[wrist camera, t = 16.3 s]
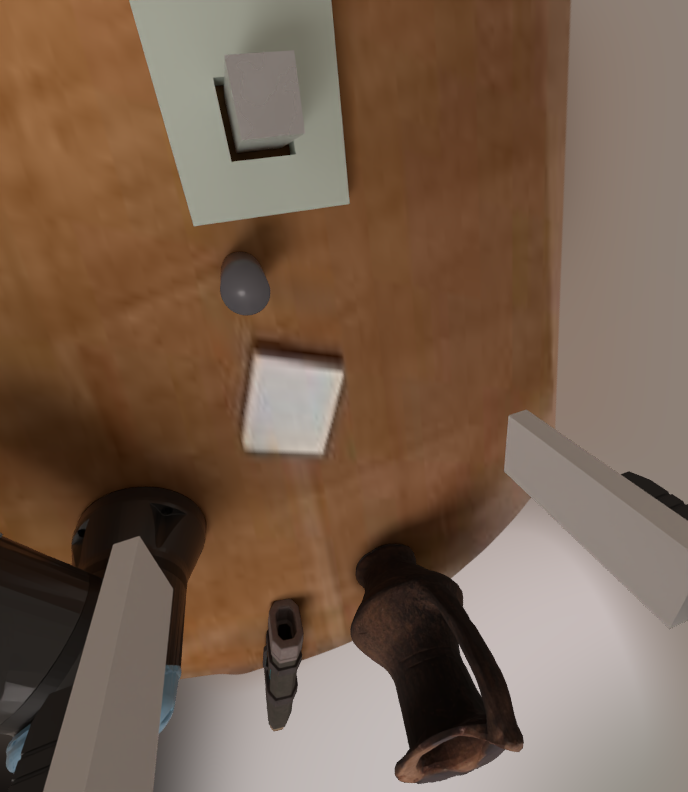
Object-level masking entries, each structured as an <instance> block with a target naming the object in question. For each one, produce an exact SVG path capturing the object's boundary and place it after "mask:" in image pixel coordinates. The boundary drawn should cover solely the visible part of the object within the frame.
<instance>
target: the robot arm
mask: <svg viewBox="0 0 688 792" xmlns="http://www.w3.org/2000/svg"><path fill="white" fill-rule="evenodd" d="M504 472H505V473H506V474H507V475H508V476H509V477H511V478H512V479H513V480H514V481H515V482H516V483H517V484H518V485H519V486H520V487H521V488H522V489H523V490H524V491H525V492H526V493H527V494H528V495H529V496H530V497H531V498H533V499H534V500H535V501H536V502H537V503H538V504H539V505H540V506H541V507H542V508H543V509H544V510H545V511H546V512H547V513H548V514H549V515H551V517H552V518H553V519H555V520H556V521H557V522H558V523H559V524H560V525H561V526H562V527H563V528H564V529H565V530H566V531H567V532H568V533H569V534H571V536H572V537H573V538H575V539H576V540H577V541H578V542H579V543H580V544H581V545H582V546H583V547H584V548H585V549H586V550H587V551H588V552H589V553H590V554H591V555H592V556H593V557H594V558H595V559H597V560H598V561H599V562H600V563H601V564H602V565H603V566H604V567H605V568H606V569H607V570H608V571H609V572H610V573H611V574H612V575H613V576H614V577H615V578H616V579H617V580H618V581H620V582H621V583H622V584H623V585H624V586H625V587H626V588H627V589H628V590H629V591H630V592H631V593H632V594H633V595H634V596H635V597H636V598H637V599H638V600H639V601H640V602H642V603H643V604H644V605H645V606H646V607H647V608H648V609H649V610H650V611H651V612H652V613H653V614H654V615H655V616H656V617H657V618H658V619H659V620H661V621H662V622H663V623H664V624H665V625H666V626H667V627H668V628H669V629H671V628H673V627H675V626H677V625H679V624H681V623H683V622H686V621H688V504H687V505H685V504H684V502H683V501H681V500H680V499H679V498H677V497H675V496H674V495H673V494H671V495H670V494H669V493H668V491H666V490H665V489H663V488H662V487H660V486H659V485H657V484H656V483H654V482H653V481H651V480H649V479H647V478H644V477H642V476H639V475H637V474H634V473H631V472H626V473H624V474H621V475H620V474H619V473H618V472H616V471H615V470H613V469H612V468H610V467H609V466H607V465H606V464H604V463H603V462H602V461H600V460H599V459H597V458H596V457H594V456H593V455H591V454H590V453H588V452H587V451H586V450H584V449H583V448H581V447H580V446H578V445H577V444H575V443H574V442H573V441H571V440H570V439H568V438H567V437H565V436H564V435H562V434H561V433H560V432H558V431H557V430H555V429H554V428H552V427H551V426H549V425H548V424H547V423H545V422H544V421H542V420H541V419H539V418H538V417H536V416H535V415H533V414H532V413H531V412H529V411H528V410H524V411H521V412H518V413H515V414H512V415H509V419H508V430H507V442H506V454H505V466H504ZM205 533H206V523H205V518H204V516H203V513H202V512H201V510H200V509H199V507H198V506H197V505H196V504H195V503H194V502H192V501H191V500H190V499H188V498H187V497H185V496H183V495H181V494H179V493H176V492H174V491H171V490H167V489H162V488H155V487H135V488H128V489H123V490H119V491H116V492H113V493H110V494H108V495H106V496H104V497H102V498H100V499H98V500H97V501H95V502H94V503H93V504H91V505H90V506H89V507H88V508H87V509H86V510H85V512H84V513H83V514H82V516H81V518H80V520H79V522H78V524H77V527H76V529H75V531H74V534H73V538H72V565H70V564H67V563H65V562H62V561H60V560H57V559H55V558H52V557H50V556H47V555H45V554H43V553H40V552H38V551H36V550H33V549H31V548H29V547H26V546H24V545H22V544H19V543H17V542H15V541H12V540H10V539H8V538H5V537H3V536H2V535H3V534H2V533H0V733H2V734H8V735H12V736H13V739H12V740H11V741H10V742H9V745H8V747H7V750H6V752H7V753H6V754H7V760H6V766H7V768H8V770H9V771H10V772H13V773H14V775H13V778H12V785H11V787H9V789H8V792H153V785H154V775H155V765H156V755H157V745H158V735H159V733H160V732H161V731H162V730H163V728H164V727H165V726H166V725H167V723H168V722H169V720H170V718H171V715H172V713H173V710H174V706H175V700H176V693H177V687H178V680H179V678H180V676H181V657H182V644H183V630H184V617H185V604H186V589H187V582H188V580H189V578H190V576H191V573H192V571H193V569H194V567H195V565H196V563H197V561H198V558H199V556H200V554H201V552H202V550H203V547H204V543H205Z"/></svg>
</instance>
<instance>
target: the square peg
mask: <svg viewBox="0 0 688 792" xmlns="http://www.w3.org/2000/svg"><path fill="white" fill-rule="evenodd" d="M224 99H225V103H226V108H227V113H228V117H229V122H230V127H231V131H232V136H233V141H234V145H235V150H236V153H243V152H252V151H261V150H269V149H278V148H282V147H284V146H285V145H287V144H289V143H290V142H292V141H294V140H295V139H297V138H298V137H300V136H302V135H303V134H305V128H304V121H303V113H302V106H301V98H300V91H299V83H298V75H297V68H296V60H295V53H294V50H291V51H276V52H261V53H246V54H230V55H224Z"/></svg>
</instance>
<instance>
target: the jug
mask: <svg viewBox="0 0 688 792" xmlns="http://www.w3.org/2000/svg"><path fill="white" fill-rule="evenodd" d="M356 579H357V581H358V583H359V584H360V585H361V586H362V587H364V588H365V594H364V597H363V600H362V603H361V604H360V606H359V608H358V610H357V612H356V614H355V616H354V619H353V622H352V624H351V637H352V640H353V642H354V644H355V645H356V646H357V647H358V648H359V649H360V650H361V651H362V652H363V653H364V654H365V655H367V656H368V657H370V658H371V659H372V660H373V661H375V662H376V663H378V664H379V665H381V666H382V667H384V668H385V669H386V670H387V671H388V673H389V674H390V675H391V677H392V679H393V680H394V683H395V686H396V690H397V694H398V699H399V703H400V707H401V711H402V716H403V720H404V725H405V729H406V734H407V738H408V743H409V748H410V749H409V750H408V752H407V753H406V755H405V756H404V757H403V758H402V759H401V760H399V761H398V762H397V764H396V766H395V776H396V777H397V778H398V780H400V781H401V782H404V783H417V784H421V783H428V782H436V781H442V780H445V779H447V778H450V777H453V776H456V775H464V774H467V773H469V772H471V771H473V770H474V769H478V768H479V767H481V766H483V765H485V764H488V763H489V762H491V761H493V760H494V759H495V758H497V757H498V756H499V755H500V754H501V753H502V752H503V751H504V750H505V749H506V750H510V751H514V752H519V751H520V750H521V749H522V748H523V743H524V742H523V735H522V734H521V731H520V729H519V727H518V725H517V722H516V719H515V716H514V711H513V707H512V702H511V697H510V694H509V691H508V687H507V684H506V682H505V679H504V677H503V674H502V672H501V670H500V668H499V667H498V665H497V663H496V661H495V659H494V657H493V655H492V653H491V652H490V650H489V648H488V647H487V645H486V643H485V642H484V640H483V638H482V637H481V635H480V633H479V632H478V630H477V628H476V627H475V625H474V624H473V623H472V622H471V620H470V619H469V617H468V615H467V613H466V611H465V610H464V608H463V593H462V590H461V589H460V588H459V586H458V584H457V583H455V582H454V581H453V580H452V579H450V578H449V577H447V576H445V575H443V574H441V573H438V572H435V571H431V570H428V569H425V568H423V567H421V566H419V565H417V564H416V558H415V555H414V552H413V551H412V550H411V549H410V548H409V547H408V546H405V545H401V544H398V545H397V544H389V545H384V546H381V547H378V548H375V549H374V550H373V551H372V552H371V553H368V554H366V555H365V556H364V557H363V558H362V559H361V560H360V561H359V563H358V565H357V568H356ZM459 645H460V647H461V649H462V651H463V653H464V655H465V657H466V659H467V661H468V663H469V665H470V667H471V669H472V671H473V673H474V675H475V678H476V680H477V683H478V686H479V689H480V692H481V695H480V694H479V692H478V691H477V689H476V687H475V685H474V683H473V681H472V679H471V676H470V674H469V672H468V670H467V668H466V666H465V665H464V663H463V661H462V658H461V656H460V651H459ZM481 696H482V697H481Z"/></svg>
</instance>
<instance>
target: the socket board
mask: <svg viewBox="0 0 688 792" xmlns="http://www.w3.org/2000/svg"><path fill="white" fill-rule="evenodd" d="M129 1H130V5H131V8H132V12H133V15H134V19H135V22H136V26H137V29H138V33H139V36H140V40H141V43H142V47H143V50H144V54H145V57H146V61H147V64H148V68H149V71H150V75H151V78H152V82H153V85H154V89H155V92H156V96H157V99H158V103H159V106H160V110H161V113H162V117H163V120H164V124H165V127H166V131H167V134H168V138H169V141H170V145H171V148H172V152H173V155H174V159H175V162H176V166H177V169H178V173H179V176H180V180H181V183H182V187H183V190H184V194H185V197H186V201H187V204H188V208H189V211H190V215H191V218H192V221H193V225H194V226H199V225H206V224H213V223H220V222H227V221H234V220H241V219H248V218H255V217H262V216H269V215H276V214H283V213H290V212H296V211H303V210H310V209H317V208H324V207H331V206H338V205H345V204H350V203H349V191H348V180H347V169H346V158H345V147H344V136H343V125H342V114H341V102H340V91H339V80H338V69H337V58H336V47H335V36H334V25H333V13H332V2H331V0H129ZM291 50H294V53H295V60H296V68H297V75H298V83H299V91H300V98H301V106H302V113H303V121H304V128H305V134H303V135H302V136H300V137H298V138H297V139H295V140H294V141H292V142H290V143H289V149H290V155H286V156H277V157H269V158H260V159H252V160H243V161H234V162H231V157H230V153H229V148H228V144H227V139H226V135H225V130H224V126H223V121H222V117H221V112H220V108H219V103H218V99H217V94H216V90H215V86H222V85H224V55H230V54H246V53H261V52H276V51H291Z"/></svg>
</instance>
